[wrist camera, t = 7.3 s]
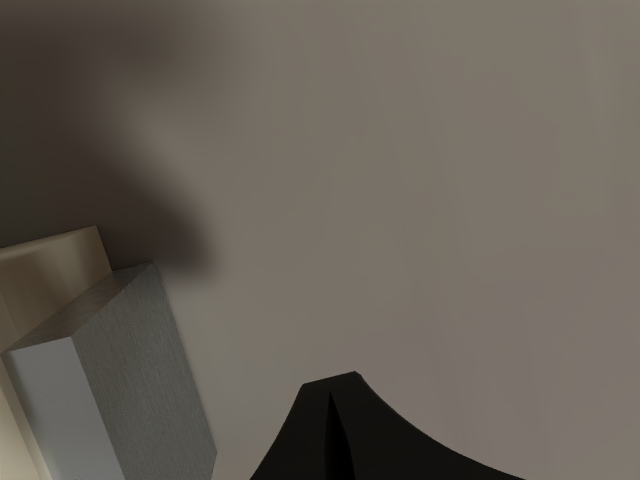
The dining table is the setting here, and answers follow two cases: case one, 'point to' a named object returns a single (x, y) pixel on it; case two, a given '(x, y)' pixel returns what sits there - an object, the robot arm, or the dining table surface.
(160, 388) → the silver metal piece
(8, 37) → the dining table surface
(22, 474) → the block
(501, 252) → the dining table surface
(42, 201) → the dining table surface
